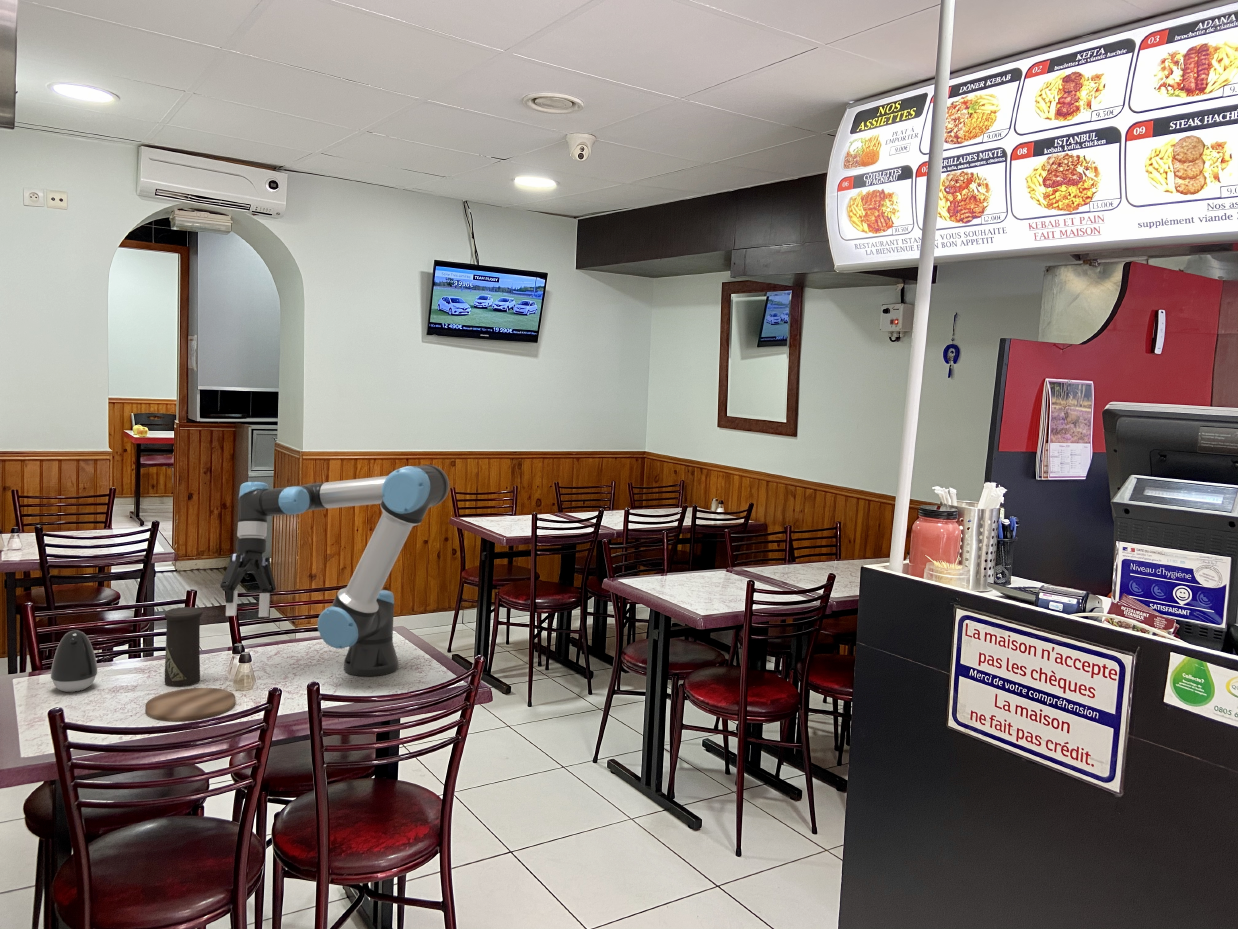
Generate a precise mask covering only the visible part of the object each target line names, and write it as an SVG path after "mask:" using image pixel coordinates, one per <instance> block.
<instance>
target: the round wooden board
mask: <svg viewBox="0 0 1238 929" xmlns="http://www.w3.org/2000/svg"><path fill="white" fill-rule="evenodd" d="M235 706H236V694H234V693H233V692H232V691H230V690H227V689H223V688H215V687H192V688H183V689H182V688H181V689H176V690H172V691H171V690H170V691H167V692H163V693H161V694H158V695H156V696H154V697H152V698H150V699H148V700H147V701H146V703H145V709H144V710H145V712H144V713H145V715H146V716H147V717H149V718H150V719H151V718H152V719H153V720H157V721H164V722H191V721H192V722H193V721H199V720H205V719H210V718H213V717H217V716H221V715H223V714H224V713H227V712H229V711H231V710H232V709H233V708H234V707H235Z"/></svg>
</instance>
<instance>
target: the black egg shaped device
mask: <svg viewBox="0 0 1238 929" xmlns="http://www.w3.org/2000/svg"><path fill="white" fill-rule="evenodd" d="M97 674H98V664H97V658H96V655H95V651H94V648H93V645H92V643H91V641H90V638H89V637H88V636H87V634H85V632H83V631H81V630H77V629H76V630H70V631H68V632H66V633H65V634H64V635H63V637H62V638H61V640H60V642H59V643H58V646H57V647H56V650H55V654H54V656H53V661H52V665H51V670H50V679H51V680H52V682H53V685H54V686H55V687H56V689H57V690H59V691H61V692H63V693H64V692H65V693H76V692H75V691H77V692H80V690H81V691H84V690H86V689H87V688H89V687H90V686H92V684H93V683H94V681H95V679H96V677H97Z"/></svg>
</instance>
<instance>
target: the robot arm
mask: <svg viewBox="0 0 1238 929" xmlns="http://www.w3.org/2000/svg"><path fill="white" fill-rule="evenodd" d="M449 491H450V480H449V477H448V476H447V474H446V472H445V471H444V470H443V469H441V467H439V466H436V465H433V464H422V465H416V466H414V465H413V466H409V465H407V466H403V467H401V468H398V469H395V470H394V471H392V472H390V473H389V474H388V475H385V476H383V475H382V476H373V477H365V478H356V479H347V480H337V481H329V482H328V481H327V482H314V483H313V482H312V483H309V484H302V485H296V486H288V487H277V488H269V485H268V484H267V483H266V482H259V481H247V482H244V483H242V484H240V486H239V493H238V494H239V495H238V519H237V533H236V536H237V537H238V538H237V539H236V546H235V547H236V553H231V554H230V557H229V563H228V564H227V568H226V570H225V572H224V575H223V577H222V580H221V583H220V589H222V591H223V592H225V617H233V616H237V612H238V611H237V610H238V592H239V591H238V590H236V589H237V587H238V586H239V584H240V583H241V581H242V579H243V578H244V576H245V575H246V573H251V574H252V575H253V576H254V578H255V581H256V582H257V584H258V587H259V589H260V591H261V592H260V593H259V600H258V601H259V602H258V617H259V618H261V617H262V618H263V617H265V618H267V617H268V618H269V617H270V604H271V594H272V593H274V592H276V590H277V587H276V584H275V580H274V575H273V572H272V571H273V570H272V568H271V559H270V557H269V556H268V557H263V554H265V553H266V551H267V540H266V539H265V538H266V537H267V535H268V534H267V533H268V530H267V529H268V517H272V516H287V515H289V516H294V515H298V514H303V513H305V512H309V511H315V510H325V509H326V510H327V509H334V508H344V507H345V508H346V507H355V506H367V505H368V506H369V505H377V504H378V505H379V504H380V509H381V511H382V514H381V515H380V518H379V520H378V523H377V524H376V527H375V528H374V530H373V533H372V535H371V537H370V539H369V541H368V543H367V545H366V547H365V549H364V551H363V553H362V556H361V557H360V559H359V562H358V563H357V565H356V568H355V570H354V572H353V574H352V576H351V578H350V580H349V582H348V584H347V586H346V587H344V588H341V589H340V590H338V592H337V593H336V596H335V598H334V600H333V602H332V604H331V606H329V607H326V608H325V609H324V610H323V611H321V613H320V614H319V616H318V619H317V623H316V624H317V632H318V633H319V636H320V637H321V640H322V641H323V642H324V643H325V644H326V645H328V647H329V646H330V647H331V648H335V649H338V650H339V649H345V648H346V649H347V648H348V650H347V652H346V655H345V658H344V660H343V671H344V672H345V673H347V674H350V675H352V676H358V677H359V676H360V677H377V676H385V675H389V674H392V673H394V672H396V671H397V670H398V669H399V658H398V656H397V652H396V649H395V645H394V642H393V641H394V640H393V637H394V636H393V634H394V613H395V599H394V598H395V597H394V593H393V592H392V591H390V590H386V589H383V588H384V585H385V584H386V581H387V579H388V578H389V575H390V573H391V572H392V569H393V567H394V565H395V563H396V561H397V559H398V557H399V556H400V552H401V551H402V549H403V547H404V546H405V542H406V541H407V539H408V537H409V535H410V532H411V530H412V529H413V527H415V526H417V525H421V523H422V521H423V520H424V517H425V515H426V513H427V512H428V510H429V508H432V507H435V506H437V505H439V504H441V503H442V502H444V500H446V498H447V496H448V494H449Z"/></svg>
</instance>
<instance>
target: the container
mask: <svg viewBox="0 0 1238 929" xmlns="http://www.w3.org/2000/svg"><path fill="white" fill-rule="evenodd" d="M202 615H203V610H201V609H200V608H198V607H193V606H180V607H174V608H170V609H167V611H166V612H165V613H164V618H165V619H166V627H165V628H166V630H165V631H166V632H165V636H166V637H165V658H164V659H165V660H164V661H165V663H164V684H165V685H166V686H169V687H174V688H175V687H176V688H177V687H179V688H180V687H188V686H192V685H193V686H194V685H195V684H198V683H199V682H200V680H201V659H200V658H201V654H200V648H201V647H200V645H201V644H200V636H201V635H200V631H201V630H200V627H201V626H200V625H201V623H200V622H201V617H202Z"/></svg>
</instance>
